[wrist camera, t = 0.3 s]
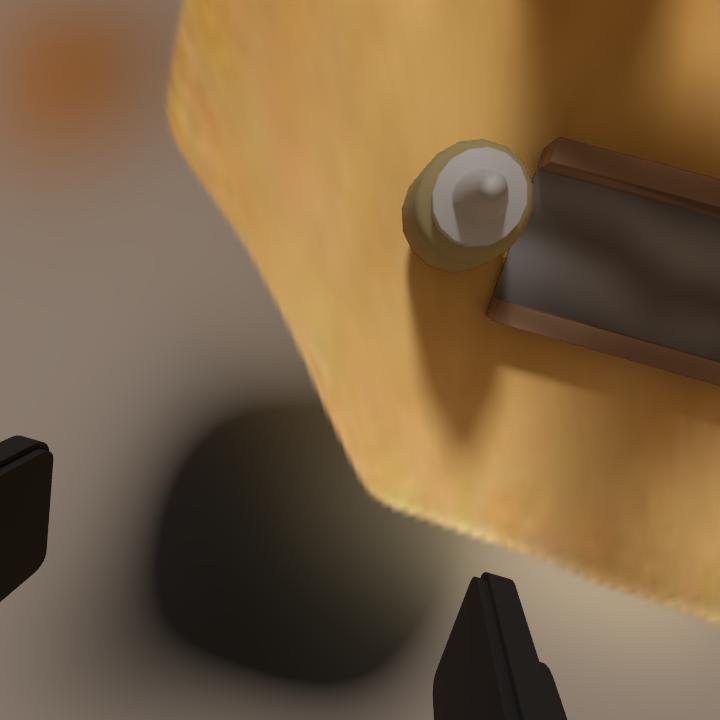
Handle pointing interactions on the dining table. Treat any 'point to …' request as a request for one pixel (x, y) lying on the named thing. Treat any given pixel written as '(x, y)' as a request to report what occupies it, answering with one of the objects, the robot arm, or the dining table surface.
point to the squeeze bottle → (467, 206)
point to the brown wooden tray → (619, 260)
